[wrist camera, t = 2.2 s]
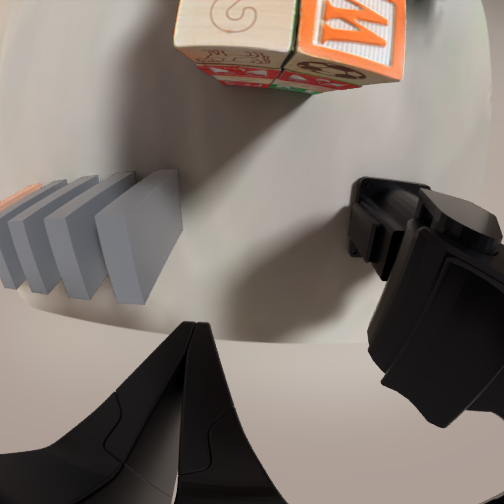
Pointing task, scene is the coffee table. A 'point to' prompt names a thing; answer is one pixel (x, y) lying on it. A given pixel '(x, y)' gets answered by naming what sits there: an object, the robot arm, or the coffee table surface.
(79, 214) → the domino
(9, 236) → the domino
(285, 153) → the coffee table surface
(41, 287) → the domino
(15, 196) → the domino
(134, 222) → the domino
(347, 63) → the stack of blocks
